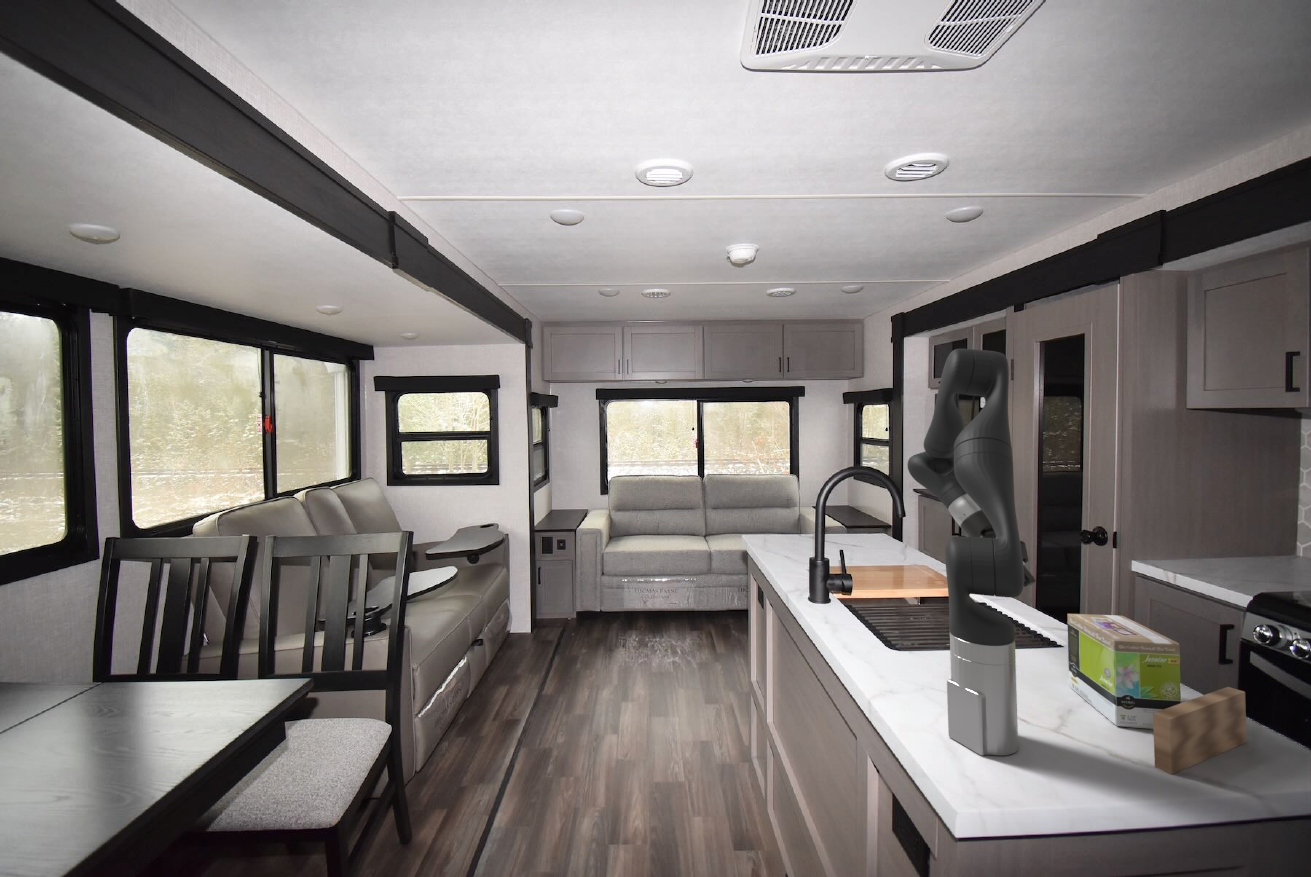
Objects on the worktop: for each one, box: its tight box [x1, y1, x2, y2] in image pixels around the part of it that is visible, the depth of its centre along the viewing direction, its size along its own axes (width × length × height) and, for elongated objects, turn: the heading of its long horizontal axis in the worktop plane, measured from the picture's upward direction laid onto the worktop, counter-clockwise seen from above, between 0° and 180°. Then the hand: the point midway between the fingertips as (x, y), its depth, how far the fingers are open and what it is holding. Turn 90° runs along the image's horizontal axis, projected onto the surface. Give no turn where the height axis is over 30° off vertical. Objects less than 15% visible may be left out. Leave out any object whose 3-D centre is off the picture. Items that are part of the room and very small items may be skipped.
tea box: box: [1066, 613, 1182, 730], centre depth 98 cm, size 15×10×15 cm
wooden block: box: [1153, 686, 1248, 775], centre depth 83 cm, size 20×2×8 cm, turn 111°
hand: (1030, 584), depth 112 cm, fingers closed
